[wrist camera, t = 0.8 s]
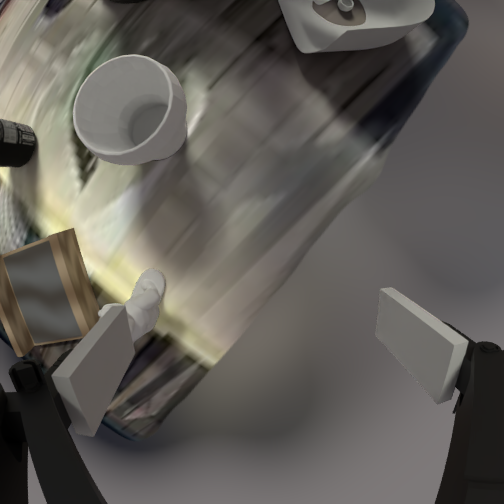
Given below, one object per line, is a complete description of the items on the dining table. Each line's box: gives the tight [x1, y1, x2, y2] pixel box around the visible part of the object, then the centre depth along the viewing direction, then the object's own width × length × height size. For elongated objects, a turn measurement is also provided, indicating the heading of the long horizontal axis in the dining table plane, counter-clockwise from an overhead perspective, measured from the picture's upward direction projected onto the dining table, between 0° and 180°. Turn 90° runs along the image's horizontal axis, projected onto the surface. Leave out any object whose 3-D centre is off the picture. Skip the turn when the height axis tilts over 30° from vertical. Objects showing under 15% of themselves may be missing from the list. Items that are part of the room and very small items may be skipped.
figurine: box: [98, 268, 165, 343], centre depth 35 cm, size 9×7×12 cm
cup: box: [73, 54, 187, 165], centre depth 30 cm, size 11×11×15 cm
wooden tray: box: [0, 228, 100, 357], centre depth 38 cm, size 16×17×5 cm
